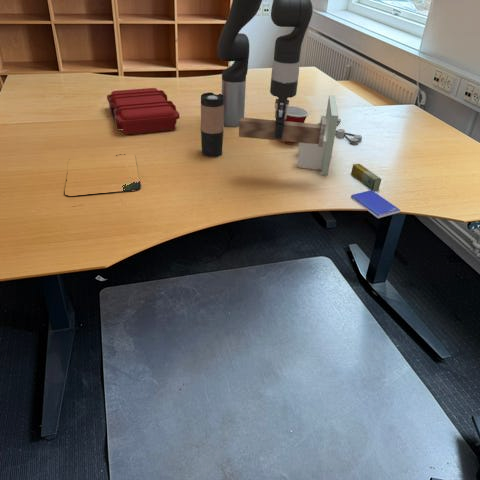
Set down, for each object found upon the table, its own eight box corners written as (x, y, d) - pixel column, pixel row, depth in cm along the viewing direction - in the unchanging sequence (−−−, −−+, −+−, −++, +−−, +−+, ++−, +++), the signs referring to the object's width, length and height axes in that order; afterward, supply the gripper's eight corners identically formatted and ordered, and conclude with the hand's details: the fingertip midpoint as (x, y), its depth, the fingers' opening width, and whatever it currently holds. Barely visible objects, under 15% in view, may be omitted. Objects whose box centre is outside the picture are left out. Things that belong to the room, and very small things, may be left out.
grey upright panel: (297, 172, 144) (305, 113, 133) (298, 148, 161) (305, 92, 149) (327, 175, 144) (338, 115, 132) (325, 150, 160) (335, 95, 148)
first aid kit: (181, 131, 169) (181, 109, 164) (120, 138, 162) (117, 115, 157) (162, 104, 193) (160, 84, 188) (107, 109, 186) (104, 89, 181)
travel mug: (206, 159, 150) (206, 100, 138) (197, 150, 155) (196, 93, 144) (226, 155, 153) (228, 98, 141) (217, 147, 158) (218, 91, 147)
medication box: (379, 190, 137) (382, 179, 135) (372, 191, 136) (375, 180, 134) (356, 173, 146) (359, 162, 144) (349, 174, 145) (352, 163, 143)
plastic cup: (307, 147, 162) (312, 115, 155) (278, 146, 161) (281, 114, 154) (302, 135, 170) (306, 104, 163) (274, 135, 170) (277, 104, 163)
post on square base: (237, 139, 131) (238, 116, 127) (240, 130, 137) (241, 108, 133) (322, 147, 129) (326, 124, 125) (321, 137, 135) (325, 115, 131)
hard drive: (400, 209, 126) (372, 189, 135) (378, 215, 123) (351, 194, 132) (399, 213, 127) (371, 194, 136) (377, 219, 124) (350, 199, 133)
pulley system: (328, 149, 163) (365, 144, 166) (329, 137, 160) (367, 132, 163) (303, 124, 185) (336, 121, 188) (303, 113, 183) (337, 110, 185)
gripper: (273, 69, 129) (268, 126, 139) (269, 83, 117) (264, 144, 127) (298, 71, 128) (291, 128, 138) (297, 86, 117) (290, 146, 127)
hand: (278, 135), depth 133 cm, fingers closed on post on square base, 3 cm apart
